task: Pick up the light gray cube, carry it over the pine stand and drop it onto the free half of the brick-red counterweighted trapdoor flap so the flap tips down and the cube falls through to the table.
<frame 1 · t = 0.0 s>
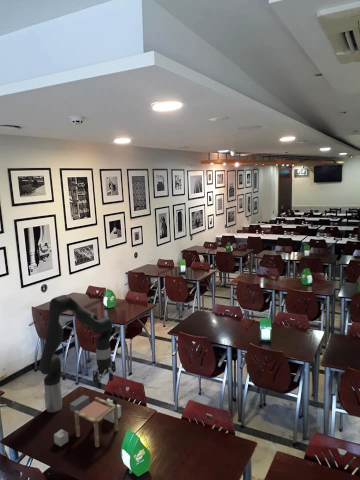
hand: (105, 384, 191), 29 cm above the table, fingers open, 8 cm apart
trapdoor: (89, 408, 198), point 13 cm above the table, hinge at 0.0°
light gray cube: (61, 442, 191), on the table
medicine bottle: (112, 418, 210), on the table
stand: (88, 428, 201), on the table
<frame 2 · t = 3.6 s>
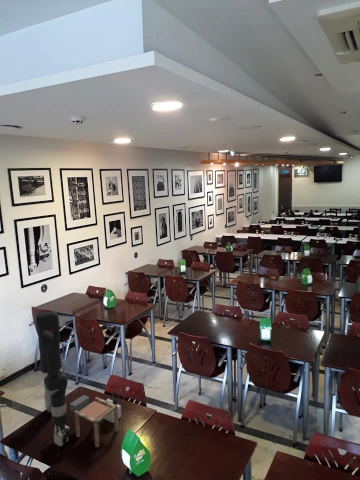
hand: (61, 441, 191), 0 cm above the table, fingers closed on light gray cube, 5 cm apart
light gray cube: (61, 441, 191), on the table, touching gripper
everything else where it was.
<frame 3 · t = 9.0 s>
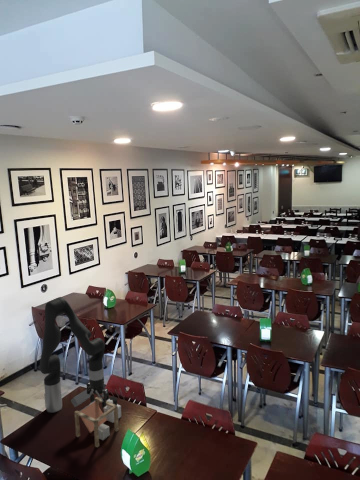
hand: (98, 404, 193), 18 cm above the table, fingers open, 8 cm apart
trapdoor: (89, 410, 198), point 12 cm above the table, hinge at -44.6°, touching light gray cube
light gray cube: (99, 430, 196), point 2 cm above the table, tilted 90°, touching trapdoor
everything else where it was.
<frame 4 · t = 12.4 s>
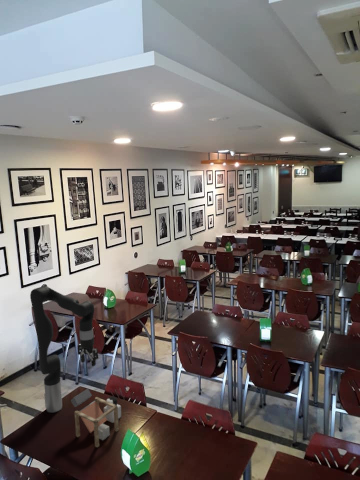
hand: (88, 363, 206), 33 cm above the table, fingers open, 8 cm apart
nothing on the table moved.
at the end: light gray cube point 2.5 cm above the table; the gripper is holding nothing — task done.
